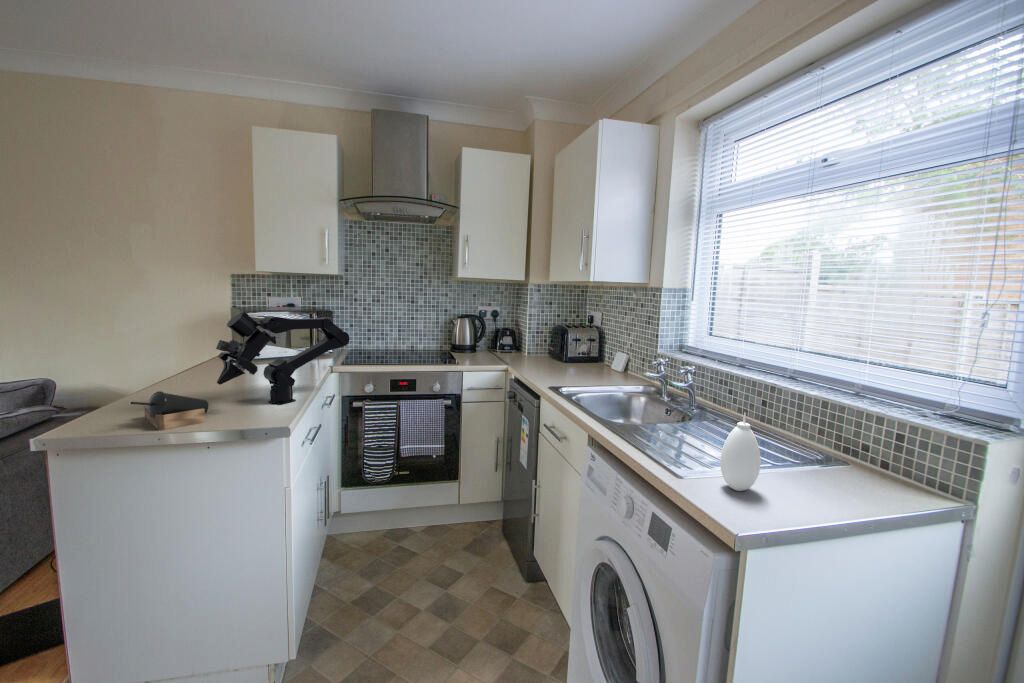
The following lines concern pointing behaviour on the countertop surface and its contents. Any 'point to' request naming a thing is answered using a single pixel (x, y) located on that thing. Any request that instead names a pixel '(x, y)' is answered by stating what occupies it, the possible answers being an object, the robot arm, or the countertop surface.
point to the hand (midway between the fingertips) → (218, 383)
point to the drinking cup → (172, 404)
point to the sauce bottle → (740, 457)
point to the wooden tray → (176, 418)
